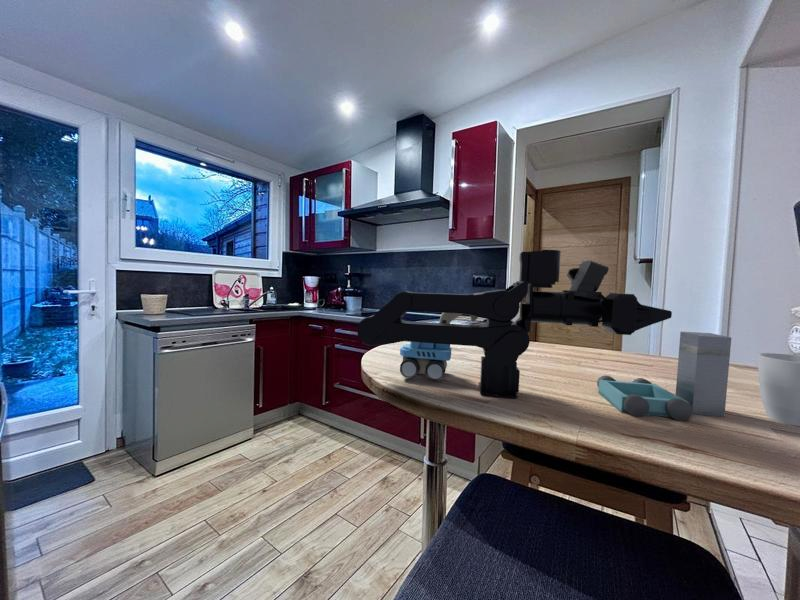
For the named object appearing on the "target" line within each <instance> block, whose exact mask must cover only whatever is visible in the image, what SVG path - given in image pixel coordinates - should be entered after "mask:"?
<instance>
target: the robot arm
mask: <svg viewBox="0 0 800 600" xmlns="http://www.w3.org/2000/svg"><path fill="white" fill-rule="evenodd" d="M519 264H520V265H519V278H518V279H519V280H518V281H517V280H516V282H513V283H512V284H511V285H510V286H508V287H507V288H506V289H496V290H495V289H493V290H486V291H481V292H474V293H467V294H466V293H445V292H442V293H440V292H436V293H435V292H418V291H417V292H413V291H410V290H405V291H404V290H403V291H400V292H397V293H396V294H395V295H394V297H393V298H392V299H391V300H389V302H387V303H386V304H385V305H384V306H383V307H381V308H380V309H379V310H378V311H377V312H376V313H374V314H373V315H370V316H367V317H365V318H363V319H362V320H361V321H359V323H358V326H357V336H358V339H359V340H360V341H361V342H362V344H363V345H365V346H368V347H374V346H385V345H392V344H397V343H401V342H408V343H411V342H422V343H436V344H450V346H451V345H452V346H453V345H454V346H465V347H466V346H467V347H468V346H469V347H477V348H479V349H480V348H481V349H482V350H483V354H484V356H480V375H479V376H480V378H479V379H480V380H479V383H478V387H479V388H478V389H479V395H481V396H489V397H490V396H491V397H500V398H510V399H512V398H513V399H517V398H518V394H517V393H519V392H520V372H521V371H520V369H519V367H518V363H517V361H518V359H519V357H520V356H521V355H522V354H524V353H525V352H526V351H527V350H528V348H529V346H530V341H531V339H530V336H529V333H530V332H531V328H532V323H546V324H547V323H548V324H561V325H565V326H573V325H582V326H583V325H585V326H589V327H591V328H593V327H594V328H599V324H601V326H602V327H603V328H605V330H606V331H607V332H610V333H613V334H615V335H623V336H631V335H632V334H634V333H635V332H636V331H639V330H641V329H643V328H646V327H649V326H651V325H656V324H658V323H660V322H664V321H666V320H669V319H671V318H673V317H672V316H673V315H672V313H673V312H672V311H671V310H668V309H663V308H658V307H654V306H649V305H645V304H641V303H640V302H639V301H638V298H637V296H636V295H635V294H633V293H623V292H622V293H619V292H618V293H617V292H616V293H615V292H610V293H609V294H607V295H606V296H604V295H603V293H602V291H598V289H599V288H600V286H601V284H602V282H603V279H604V277H605V276H606V275H608V273H609V266H606V265H604V264H601V263H598V262H595V261H593V260H585V261H582V262H581V263H580V264H579V265H578V266H579V267H574V268H569V270H568V272H567V273H566V277H567V278H568V279H569V280H570V281H571V282H570V284H571V286H570V288H569V290H568V289H567V290H565V289H564V290H561V291H545V290H544V291H543V290H542V291H541V290H534V288H541V289H553V286H554V285H556V283H559V282H560V269H561V250H559V249H558V250H557V249H542V250H534V251H521V252H519ZM524 298H525V302H522V301H523V300H524ZM408 312H426V313H463V314H462V315H464V314H465V315H469V314H470V315H474V316H478V318H482V319H485V320H486V323H481V324H462V323H450V324H446V323H439V322H428V321H427V322H426V321H424V322H423V321H412V320H410V321H408V320H404V319H402V318H403V317H404V316H405V315H406V314H407V313H408ZM519 312H520V316H519V318H517V319H516V320H515V321H513V319H514V318H515V317H517V315H518V313H519ZM470 315H469V316H470Z"/></svg>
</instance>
